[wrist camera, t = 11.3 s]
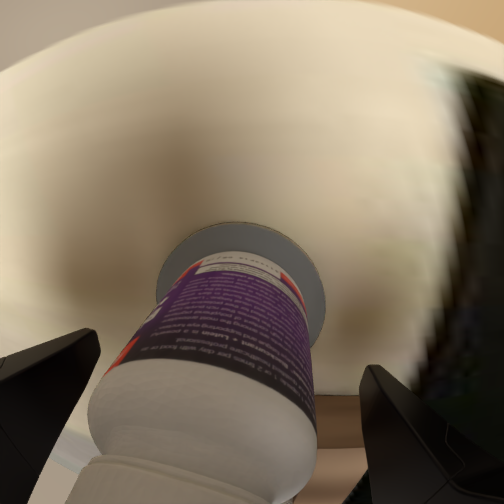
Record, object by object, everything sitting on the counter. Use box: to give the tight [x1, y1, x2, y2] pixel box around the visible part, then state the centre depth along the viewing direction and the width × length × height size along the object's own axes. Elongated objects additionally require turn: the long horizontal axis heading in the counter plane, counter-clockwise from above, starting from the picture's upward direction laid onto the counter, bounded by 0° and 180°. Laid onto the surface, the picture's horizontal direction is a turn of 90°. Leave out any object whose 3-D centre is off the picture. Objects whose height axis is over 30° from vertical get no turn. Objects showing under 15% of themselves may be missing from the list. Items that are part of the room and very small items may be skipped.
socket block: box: [293, 395, 368, 504], centre depth 14 cm, size 10×10×4 cm
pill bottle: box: [65, 251, 317, 504], centre depth 7 cm, size 5×5×10 cm
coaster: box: [156, 222, 326, 348], centre depth 12 cm, size 7×7×1 cm
